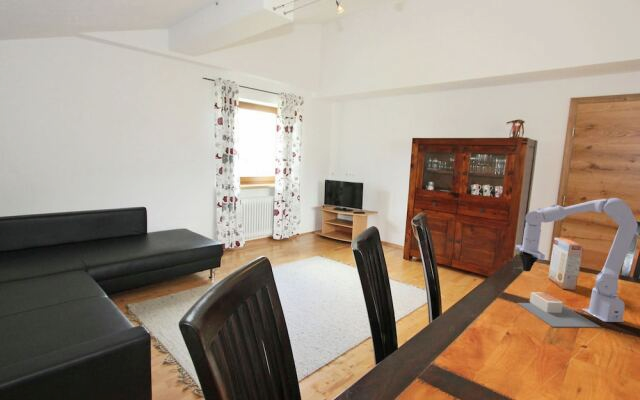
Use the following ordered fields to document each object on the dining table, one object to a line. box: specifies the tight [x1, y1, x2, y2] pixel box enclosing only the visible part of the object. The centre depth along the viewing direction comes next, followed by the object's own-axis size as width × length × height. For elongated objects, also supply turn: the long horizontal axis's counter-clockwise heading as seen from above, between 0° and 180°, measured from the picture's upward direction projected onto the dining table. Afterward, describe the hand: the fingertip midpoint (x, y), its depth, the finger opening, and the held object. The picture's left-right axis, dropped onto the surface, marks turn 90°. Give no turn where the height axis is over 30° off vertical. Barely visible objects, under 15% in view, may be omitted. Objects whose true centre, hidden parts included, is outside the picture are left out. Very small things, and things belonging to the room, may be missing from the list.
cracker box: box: [547, 237, 584, 291], centre depth 155 cm, size 14×6×21 cm, turn 168°
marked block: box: [529, 291, 564, 313], centre depth 130 cm, size 4×6×9 cm
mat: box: [516, 302, 602, 328], centre depth 125 cm, size 18×18×1 cm
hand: (526, 270), depth 141 cm, fingers closed
